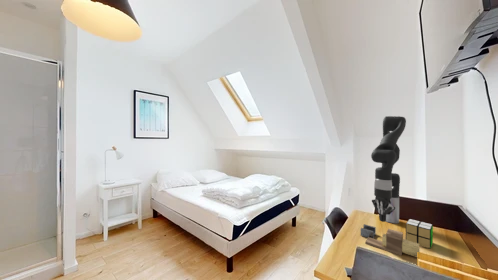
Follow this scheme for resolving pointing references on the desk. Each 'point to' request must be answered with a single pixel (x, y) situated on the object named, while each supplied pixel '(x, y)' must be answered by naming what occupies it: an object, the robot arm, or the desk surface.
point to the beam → (389, 242)
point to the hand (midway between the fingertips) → (382, 221)
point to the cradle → (368, 231)
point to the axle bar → (405, 246)
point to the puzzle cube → (419, 233)
